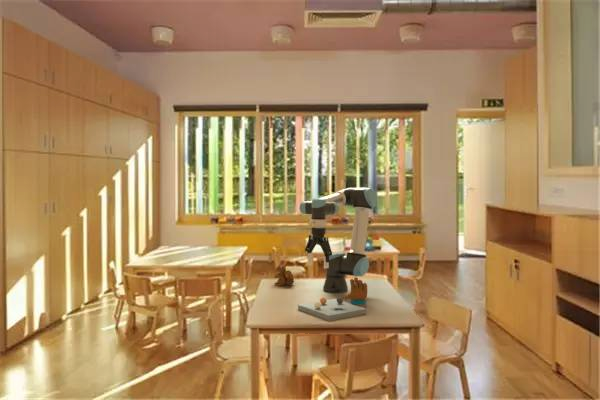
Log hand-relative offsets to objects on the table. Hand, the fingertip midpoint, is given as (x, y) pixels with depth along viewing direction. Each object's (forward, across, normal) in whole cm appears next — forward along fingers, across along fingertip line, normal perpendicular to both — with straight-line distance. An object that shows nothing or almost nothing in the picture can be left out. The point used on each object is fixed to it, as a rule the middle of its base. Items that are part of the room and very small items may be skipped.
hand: (318, 266), depth 268 cm
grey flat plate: (+21, +14, -2) cm, 25 cm away
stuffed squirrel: (+21, -56, +18) cm, 63 cm away
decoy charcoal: (+17, +11, +6) cm, 21 cm away
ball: (+17, +7, -2) cm, 18 cm away
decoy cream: (+17, +12, -10) cm, 23 cm away
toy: (+21, +9, +20) cm, 31 cm away
